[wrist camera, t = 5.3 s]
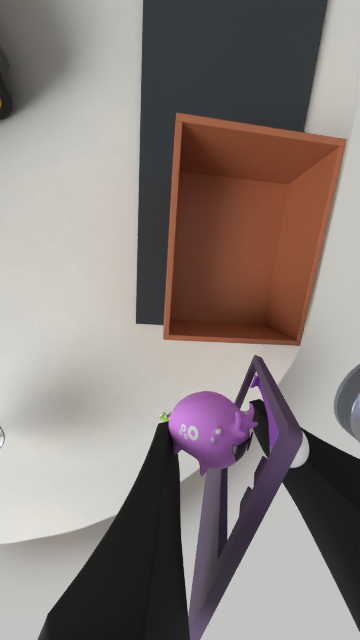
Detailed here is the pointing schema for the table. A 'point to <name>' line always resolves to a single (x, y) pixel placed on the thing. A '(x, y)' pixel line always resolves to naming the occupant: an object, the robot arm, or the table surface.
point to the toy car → (4, 88)
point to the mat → (213, 96)
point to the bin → (245, 229)
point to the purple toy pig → (214, 457)
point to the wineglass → (1, 438)
